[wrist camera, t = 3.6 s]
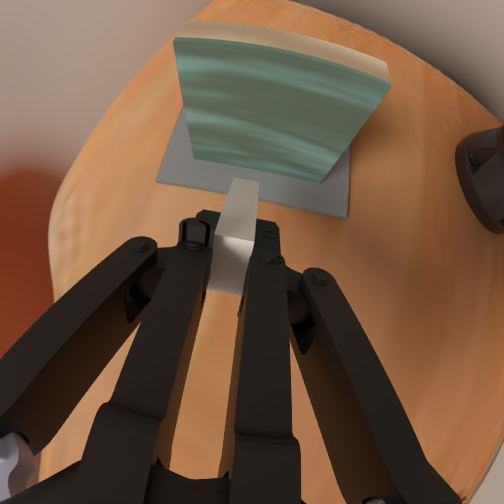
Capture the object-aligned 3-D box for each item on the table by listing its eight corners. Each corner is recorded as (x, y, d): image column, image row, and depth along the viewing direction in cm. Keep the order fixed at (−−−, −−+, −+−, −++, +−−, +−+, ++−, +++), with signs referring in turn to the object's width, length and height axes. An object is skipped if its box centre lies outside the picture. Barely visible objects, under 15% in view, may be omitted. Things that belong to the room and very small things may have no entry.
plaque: (200, 138, 26) (187, 20, 12) (321, 162, 26) (386, 62, 12) (193, 159, 25) (172, 41, 11) (319, 183, 26) (391, 87, 12)
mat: (213, 42, 29) (213, 38, 29) (346, 69, 30) (348, 66, 30) (157, 182, 25) (155, 180, 24) (344, 219, 26) (346, 217, 25)
